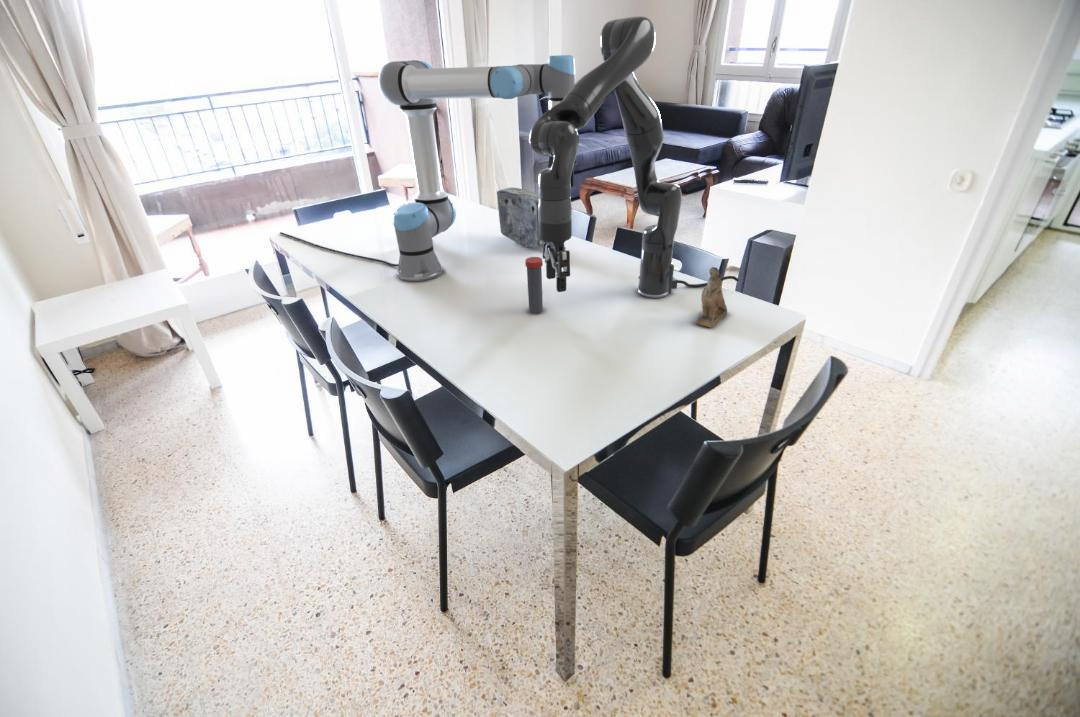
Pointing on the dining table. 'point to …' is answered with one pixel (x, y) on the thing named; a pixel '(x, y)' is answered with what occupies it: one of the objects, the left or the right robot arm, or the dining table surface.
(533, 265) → the lid
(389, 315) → the dining table surface
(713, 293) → the worn brown figurine
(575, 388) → the dining table surface
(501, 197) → the concrete block
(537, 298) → the jar
